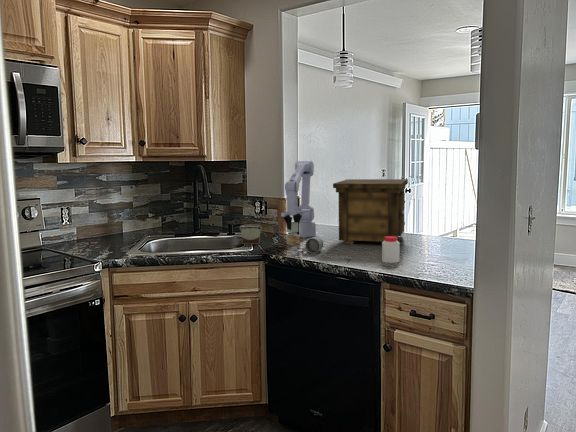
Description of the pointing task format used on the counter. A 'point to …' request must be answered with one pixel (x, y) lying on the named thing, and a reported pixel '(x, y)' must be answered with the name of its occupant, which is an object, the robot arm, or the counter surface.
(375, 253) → the counter surface
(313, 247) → the ceramic mug
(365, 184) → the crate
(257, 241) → the food container
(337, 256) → the counter surface
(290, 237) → the slab upper
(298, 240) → the slab lower
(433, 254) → the counter surface
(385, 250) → the pill bottle
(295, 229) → the sage block
